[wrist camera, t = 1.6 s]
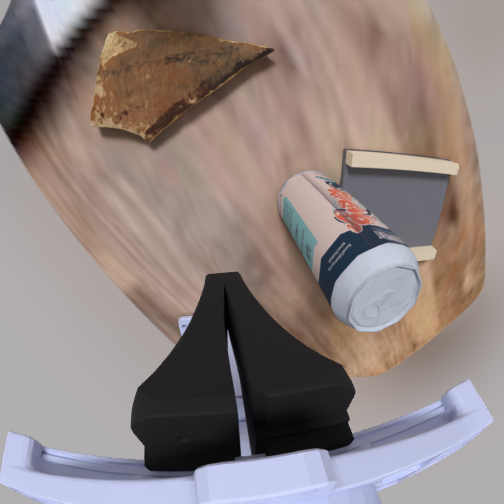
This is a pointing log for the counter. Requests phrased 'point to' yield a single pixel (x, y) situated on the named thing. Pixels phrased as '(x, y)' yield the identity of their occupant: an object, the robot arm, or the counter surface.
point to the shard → (162, 76)
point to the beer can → (350, 253)
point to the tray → (400, 192)
